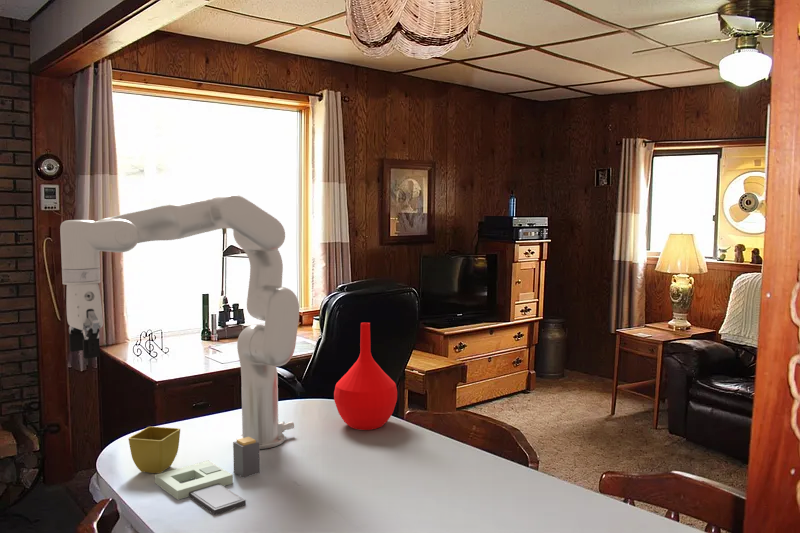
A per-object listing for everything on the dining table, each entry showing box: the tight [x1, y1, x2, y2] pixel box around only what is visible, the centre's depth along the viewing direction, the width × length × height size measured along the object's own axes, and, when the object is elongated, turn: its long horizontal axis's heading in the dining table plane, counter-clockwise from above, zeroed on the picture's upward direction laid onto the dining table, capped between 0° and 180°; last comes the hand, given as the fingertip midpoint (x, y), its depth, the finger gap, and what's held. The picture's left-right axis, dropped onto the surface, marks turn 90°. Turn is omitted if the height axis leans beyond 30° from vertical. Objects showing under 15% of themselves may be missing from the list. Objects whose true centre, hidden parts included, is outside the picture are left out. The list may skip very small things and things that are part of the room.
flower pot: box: [128, 426, 181, 474], centre depth 158 cm, size 9×9×9 cm
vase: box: [333, 322, 398, 431], centre depth 191 cm, size 18×18×30 cm
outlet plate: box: [154, 460, 234, 501], centre depth 150 cm, size 13×12×2 cm
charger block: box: [232, 437, 261, 479], centre depth 156 cm, size 4×4×8 cm
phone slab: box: [189, 483, 247, 516], centre depth 141 cm, size 7×12×1 cm, turn 42°
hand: (84, 353), depth 146 cm, fingers open, 9 cm apart
